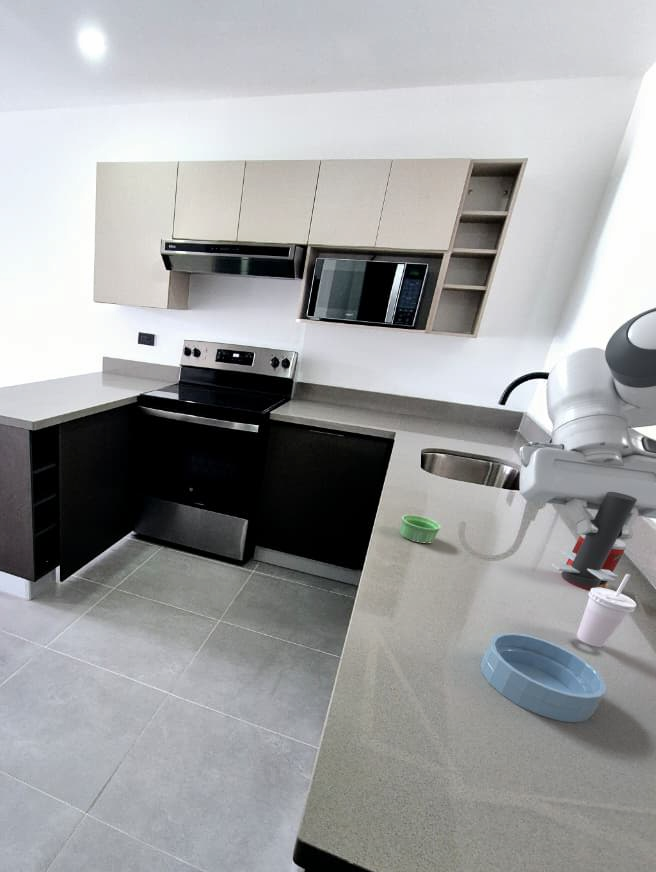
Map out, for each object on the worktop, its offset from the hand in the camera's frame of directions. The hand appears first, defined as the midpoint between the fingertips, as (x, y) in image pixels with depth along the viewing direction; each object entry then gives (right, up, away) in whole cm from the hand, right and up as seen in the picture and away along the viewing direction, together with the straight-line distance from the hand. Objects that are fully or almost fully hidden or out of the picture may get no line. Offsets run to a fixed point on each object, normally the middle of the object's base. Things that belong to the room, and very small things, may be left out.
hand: (605, 536), depth 69 cm
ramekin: (+2, -1, +58) cm, 58 cm away
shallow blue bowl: (-5, -23, +7) cm, 25 cm away
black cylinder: (-1, -6, +4) cm, 7 cm away
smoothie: (+15, -20, +21) cm, 32 cm away
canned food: (+33, -11, +44) cm, 56 cm away
